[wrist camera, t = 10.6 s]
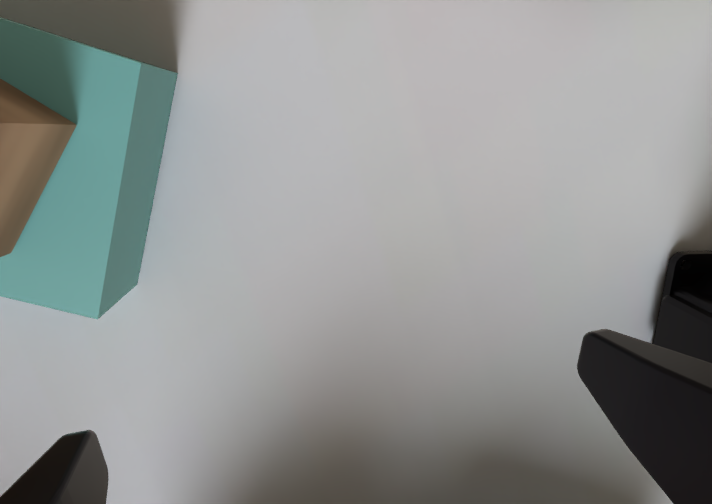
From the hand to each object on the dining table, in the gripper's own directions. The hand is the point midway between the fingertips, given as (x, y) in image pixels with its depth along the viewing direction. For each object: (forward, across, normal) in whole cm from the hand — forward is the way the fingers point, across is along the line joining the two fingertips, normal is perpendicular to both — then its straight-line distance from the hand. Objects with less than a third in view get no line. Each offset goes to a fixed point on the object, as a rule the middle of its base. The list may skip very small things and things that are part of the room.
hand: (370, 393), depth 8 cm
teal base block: (+15, +9, -2) cm, 18 cm away
